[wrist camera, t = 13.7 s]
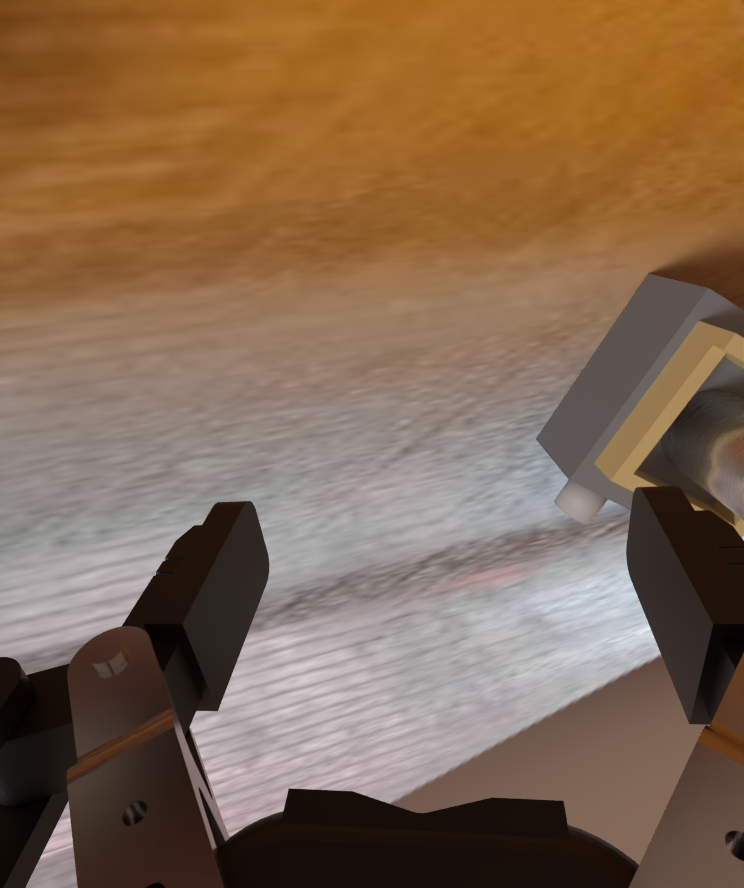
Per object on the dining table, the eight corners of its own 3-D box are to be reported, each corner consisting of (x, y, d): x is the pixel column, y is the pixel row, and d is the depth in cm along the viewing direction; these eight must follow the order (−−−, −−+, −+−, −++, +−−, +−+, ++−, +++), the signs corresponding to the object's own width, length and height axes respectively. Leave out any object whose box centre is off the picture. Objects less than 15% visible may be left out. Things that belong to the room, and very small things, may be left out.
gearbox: (648, 273, 39) (748, 297, 30) (772, 350, 42) (901, 395, 32) (514, 470, 45) (562, 543, 35) (632, 526, 48) (706, 609, 38)
